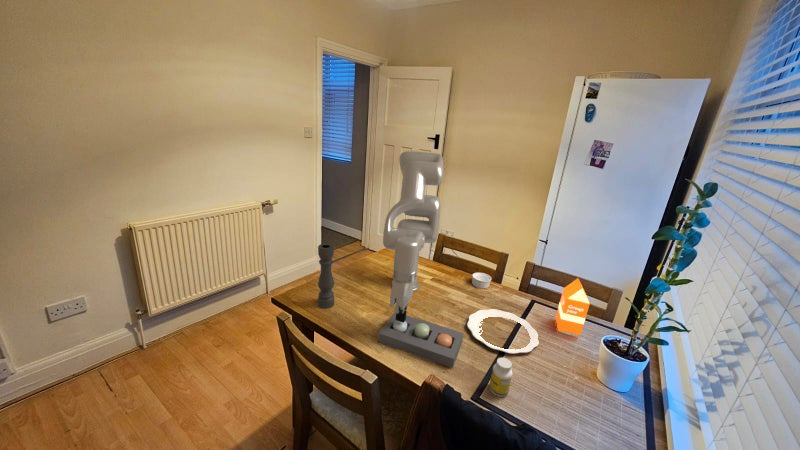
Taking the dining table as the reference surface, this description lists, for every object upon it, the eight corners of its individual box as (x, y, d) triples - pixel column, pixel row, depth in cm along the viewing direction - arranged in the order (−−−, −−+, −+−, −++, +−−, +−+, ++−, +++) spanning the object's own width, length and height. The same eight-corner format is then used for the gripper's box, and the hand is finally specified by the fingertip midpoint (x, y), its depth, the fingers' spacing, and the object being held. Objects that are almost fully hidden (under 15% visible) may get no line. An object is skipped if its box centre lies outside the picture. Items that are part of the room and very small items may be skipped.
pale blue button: (396, 325, 113) (396, 318, 112) (408, 329, 112) (409, 322, 111) (390, 332, 109) (391, 325, 108) (403, 337, 107) (404, 329, 106)
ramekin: (475, 278, 155) (476, 270, 154) (492, 284, 151) (494, 276, 149) (467, 285, 149) (469, 276, 147) (485, 291, 144) (487, 283, 142)
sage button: (417, 328, 110) (418, 321, 109) (430, 333, 108) (431, 325, 107) (412, 336, 106) (413, 329, 105) (425, 341, 104) (426, 333, 103)
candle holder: (330, 310, 121) (330, 250, 113) (315, 307, 122) (314, 248, 114) (336, 301, 127) (337, 244, 119) (322, 299, 128) (321, 242, 120)
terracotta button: (438, 339, 108) (439, 331, 107) (452, 343, 106) (453, 336, 105) (434, 347, 103) (435, 340, 102) (448, 352, 102) (450, 345, 101)
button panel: (394, 319, 119) (395, 311, 118) (462, 341, 110) (463, 332, 108) (377, 341, 106) (378, 333, 105) (452, 368, 97) (454, 359, 96)
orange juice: (556, 332, 118) (569, 285, 112) (554, 319, 126) (566, 275, 120) (579, 338, 116) (594, 290, 110) (576, 324, 124) (589, 279, 118)
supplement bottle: (486, 382, 93) (491, 355, 90) (503, 382, 93) (509, 355, 90) (492, 397, 88) (498, 369, 85) (511, 397, 88) (518, 369, 85)
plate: (535, 322, 124) (536, 318, 123) (540, 366, 101) (541, 361, 101) (471, 307, 131) (471, 303, 130) (462, 344, 108) (463, 340, 108)
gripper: (402, 262, 111) (399, 306, 117) (384, 280, 98) (381, 329, 104) (422, 267, 109) (418, 311, 115) (406, 287, 95) (402, 336, 102)
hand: (400, 320), depth 110 cm, fingers closed
